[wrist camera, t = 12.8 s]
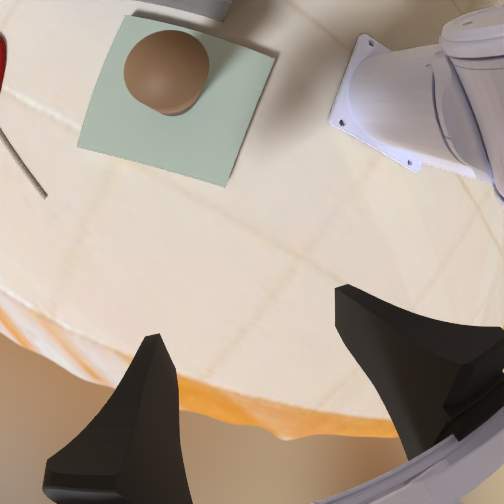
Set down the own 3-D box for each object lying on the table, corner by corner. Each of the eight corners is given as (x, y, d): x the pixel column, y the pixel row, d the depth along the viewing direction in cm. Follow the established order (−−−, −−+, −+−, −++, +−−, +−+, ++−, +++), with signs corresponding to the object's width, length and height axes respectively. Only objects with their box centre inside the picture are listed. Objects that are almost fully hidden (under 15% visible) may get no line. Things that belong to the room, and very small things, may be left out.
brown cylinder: (206, 78, 16) (222, 44, 9) (188, 122, 17) (189, 119, 10) (160, 63, 15) (144, 21, 8) (142, 108, 16) (111, 96, 9)
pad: (271, 61, 17) (275, 59, 16) (223, 185, 20) (225, 187, 19) (127, 18, 14) (125, 15, 13) (80, 146, 16) (76, 147, 16)
